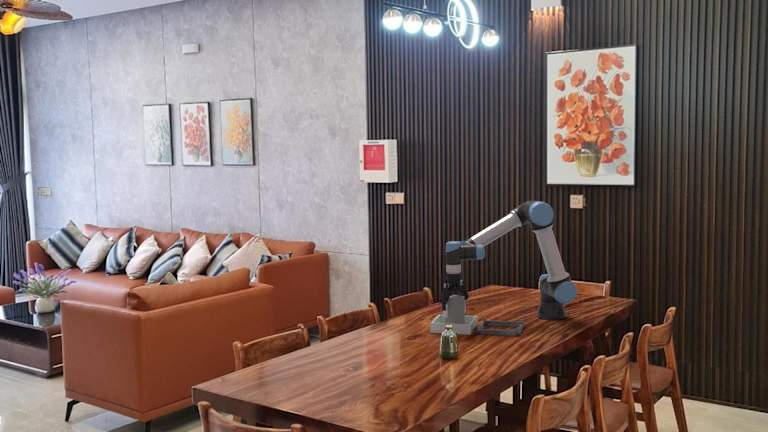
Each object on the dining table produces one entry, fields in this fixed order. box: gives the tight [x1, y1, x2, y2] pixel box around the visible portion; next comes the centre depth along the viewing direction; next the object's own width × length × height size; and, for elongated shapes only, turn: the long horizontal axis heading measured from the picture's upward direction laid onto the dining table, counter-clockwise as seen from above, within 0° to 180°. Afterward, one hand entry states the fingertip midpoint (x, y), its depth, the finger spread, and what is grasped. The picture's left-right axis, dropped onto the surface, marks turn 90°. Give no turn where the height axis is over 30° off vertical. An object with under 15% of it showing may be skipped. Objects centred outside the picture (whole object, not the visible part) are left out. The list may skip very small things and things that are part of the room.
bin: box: [429, 314, 479, 336], centre depth 378 cm, size 20×20×5 cm
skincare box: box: [445, 294, 466, 324], centre depth 377 cm, size 8×7×16 cm
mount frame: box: [476, 316, 525, 337], centre depth 373 cm, size 21×21×4 cm
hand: (454, 314), depth 377 cm, fingers open, 13 cm apart
